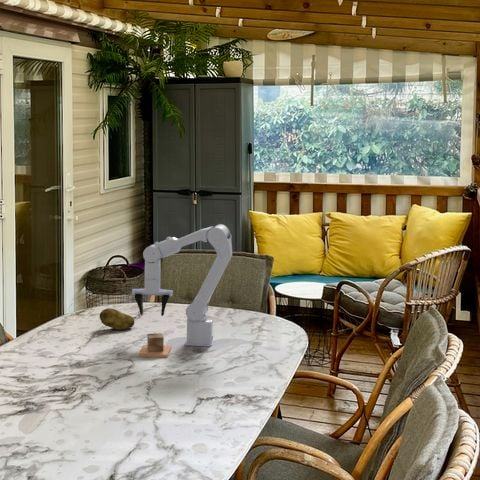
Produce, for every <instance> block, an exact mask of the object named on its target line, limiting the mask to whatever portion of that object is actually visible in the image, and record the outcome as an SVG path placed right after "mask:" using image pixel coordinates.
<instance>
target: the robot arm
mask: <svg viewBox="0 0 480 480" xmlns="http://www.w3.org/2000/svg"><path fill="white" fill-rule="evenodd" d="M232 238H233V237H232V234H231V232H230V229H229V227H227V226H226V225H225V224H222V223H219V224H216V225H215V226H213V225H211V226H209V227H206V228H201V229H199V230H197V231H194V232H192V233H190V234H186V235H184V236H182V237H180V238H177V237H175V236H172V237H171V236H167V237H166V238H165V240H161V241H159V242H158V241H155V242H154V244H150V245H149V246H147V247H145V249H144V250H143V252H142V258H143V260H144V288H132V290H131V295H132V296H134V301H135V302H136V303H137V306H138V310H139V315H140V316H143V315H144V296H159V297H160V296H161V299H160V300H161V313H160V314H161V317H163V316H164V315H165V311H166V310H165V309H166V306H167V303H168V301H169V299H170V297H173V290H172V289H165V288H164V289H163V288H161V278H162V277H161V274H162V273H161V270H162V269H161V267H162V266H161V263H162V262H161V259H164V258H167V257H169V256H172V255H175V254H177V253H179V252H180V251H181V249H182V247H186V246H188V245H192V244H194V243H197V242H203V243H207V242H208V243H209V244H210V245H211V246H212V247H213V249H214V250H215V253H216V257H215V258H214V261H213V263H212V265H211V268H209V271H208V272H207V275H206V276H205V278H204V281H203V283H202V285H201V287H200V288H199V291H198V293H197V294H196V296H195V298H194V299H193V301H192V303H190V304H189V305H188V306H187V307H186V309H185V315H186V339H185V342H184V346H193V347H211V346H212V343H213V339H214V335H213V329H214V328H213V323H214V321H213V319H209V318H208V317H207V314H206V313H207V312H208V310H209V303H210V300H211V297H212V296H213V294H214V291H215V289H216V288H217V285H218V284H219V282H220V280H221V278H222V276H223V274H224V272H225V270H226V268H227V267H228V264H229V263H230V261H231V259H232V256H233V245H232V244H233V243H232Z"/></svg>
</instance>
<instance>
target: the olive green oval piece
mask: <svg viewBox="0 0 480 480" xmlns="http://www.w3.org/2000/svg"><path fill="white" fill-rule="evenodd" d="M99 319H100V321H101V323H102V324H103V325H104V326H105V327H108V328H112V329H113V330H116V331H122V330H123V331H124V330H127V329H130V328H132V327H134V325H135V318H134V317H133V316H131V315H129V314H126V313H123V312H121V311H119V310H117V309H115V308H104V309H103V310H101V312H100V313H99Z"/></svg>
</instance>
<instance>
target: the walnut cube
mask: <svg viewBox="0 0 480 480" xmlns="http://www.w3.org/2000/svg"><path fill="white" fill-rule="evenodd" d="M164 338H165V337H164V335H163V333H147V338H146V339H147V344H146V345H147V348H148V351H149V352H163V347H164V346H165V345H164V342H165V341H164Z"/></svg>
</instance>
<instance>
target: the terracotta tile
mask: <svg viewBox="0 0 480 480" xmlns="http://www.w3.org/2000/svg"><path fill="white" fill-rule="evenodd" d="M171 351H172V345H164V347H163V352H149V351H148V348H147V344H143V345H142V347H141V348H140V350H139V352H138V355H137V356H138V357H147V358H168V357H169V356H170V353H171Z"/></svg>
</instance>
